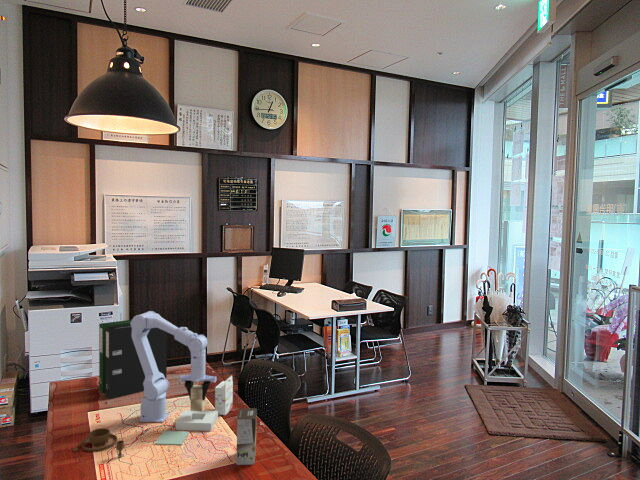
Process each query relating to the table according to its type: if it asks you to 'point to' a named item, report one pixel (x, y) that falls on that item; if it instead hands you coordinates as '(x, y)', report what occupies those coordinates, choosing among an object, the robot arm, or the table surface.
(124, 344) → the binder
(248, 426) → the coffee box
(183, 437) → the rubber mat
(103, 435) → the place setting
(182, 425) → the pocket holder
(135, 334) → the robot arm
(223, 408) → the ink cartridge box
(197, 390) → the maple peg
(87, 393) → the table surface
